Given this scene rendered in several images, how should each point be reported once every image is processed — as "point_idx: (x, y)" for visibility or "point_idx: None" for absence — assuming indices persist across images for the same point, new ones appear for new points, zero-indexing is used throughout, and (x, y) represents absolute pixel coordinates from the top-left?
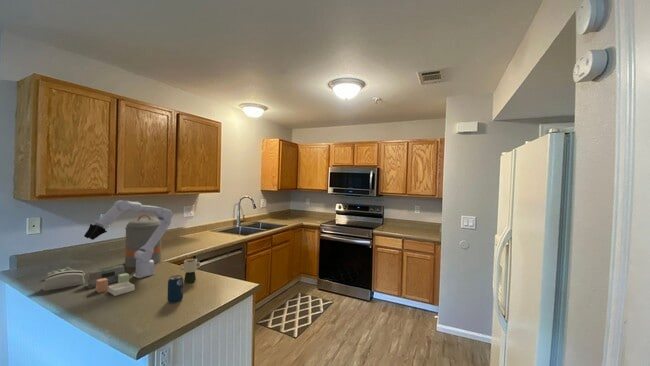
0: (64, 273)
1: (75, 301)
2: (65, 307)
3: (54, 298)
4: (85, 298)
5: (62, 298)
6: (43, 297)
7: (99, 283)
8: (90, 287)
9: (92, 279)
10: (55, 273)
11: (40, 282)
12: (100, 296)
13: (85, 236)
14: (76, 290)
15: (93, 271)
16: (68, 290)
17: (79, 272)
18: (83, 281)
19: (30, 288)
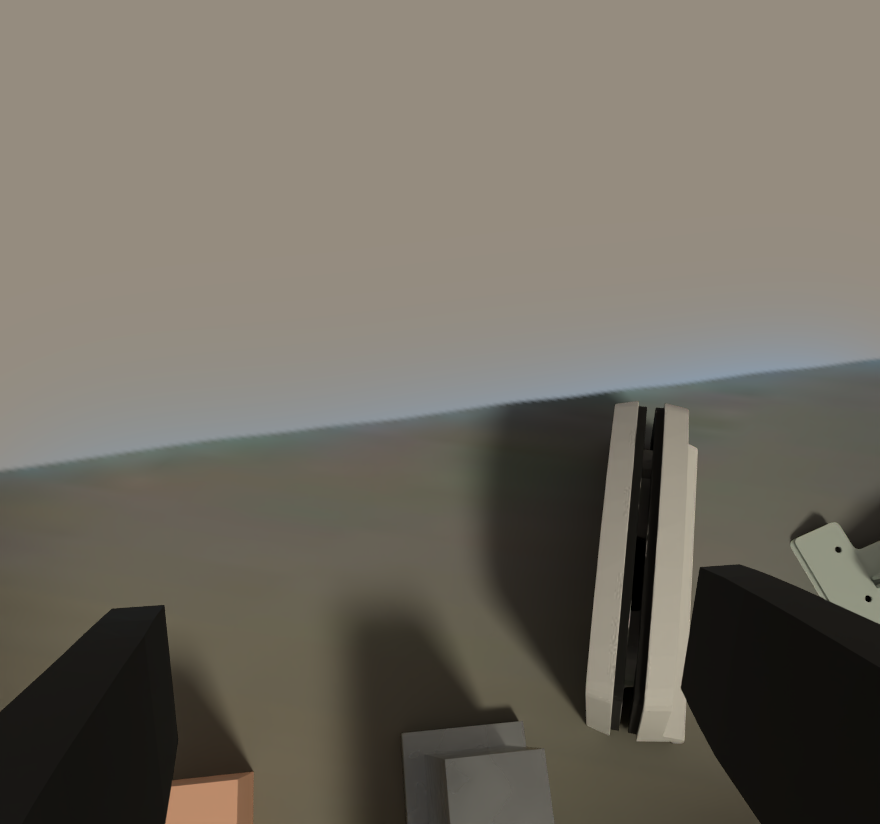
0: (648, 527)
1: (104, 566)
2: (26, 484)
3: (343, 464)
4: None
5: (289, 506)
6: (438, 414)
7: None
8: (403, 748)
9: (435, 775)
10: (679, 457)
11: (876, 456)
12: None
13: (704, 608)
14: (426, 629)
15: (519, 805)
16: (482, 577)
17: (636, 668)
18: (586, 713)
19: (748, 386)
